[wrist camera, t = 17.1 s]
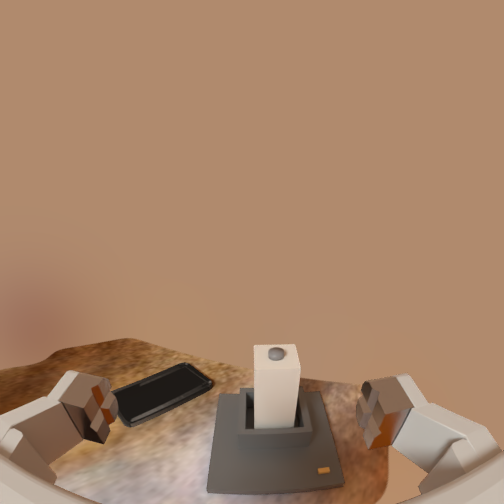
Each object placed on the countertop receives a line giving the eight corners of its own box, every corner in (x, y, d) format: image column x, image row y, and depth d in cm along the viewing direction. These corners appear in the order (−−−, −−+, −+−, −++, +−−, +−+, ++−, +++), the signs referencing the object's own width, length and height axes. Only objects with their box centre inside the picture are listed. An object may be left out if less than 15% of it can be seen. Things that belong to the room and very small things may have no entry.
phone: (214, 383, 38) (125, 425, 28) (215, 388, 38) (128, 431, 28) (185, 360, 44) (104, 393, 33) (186, 365, 44) (106, 398, 33)
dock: (207, 492, 20) (202, 476, 19) (220, 398, 36) (218, 377, 35) (342, 486, 20) (351, 469, 19) (318, 395, 36) (322, 375, 35)
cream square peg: (254, 438, 28) (254, 364, 25) (254, 413, 32) (253, 340, 29) (292, 436, 28) (301, 363, 25) (288, 412, 32) (295, 339, 29)
